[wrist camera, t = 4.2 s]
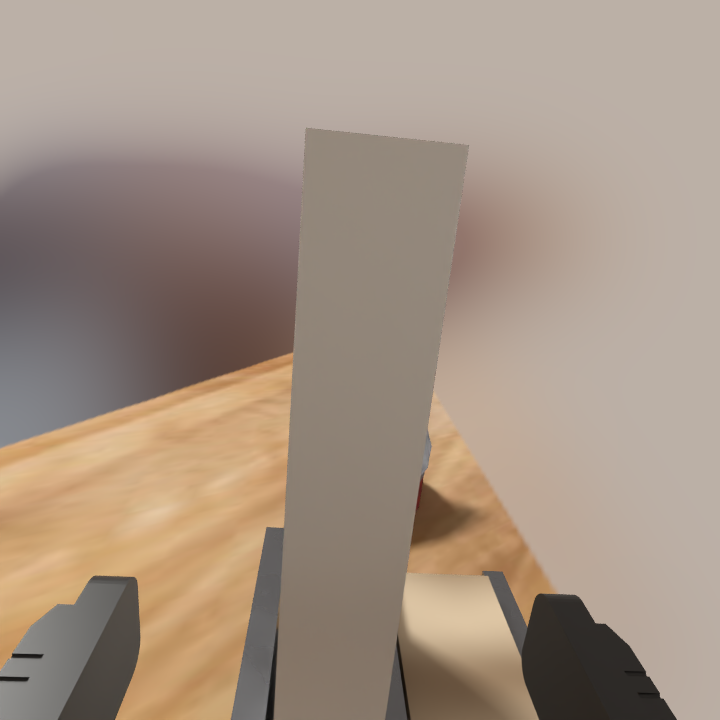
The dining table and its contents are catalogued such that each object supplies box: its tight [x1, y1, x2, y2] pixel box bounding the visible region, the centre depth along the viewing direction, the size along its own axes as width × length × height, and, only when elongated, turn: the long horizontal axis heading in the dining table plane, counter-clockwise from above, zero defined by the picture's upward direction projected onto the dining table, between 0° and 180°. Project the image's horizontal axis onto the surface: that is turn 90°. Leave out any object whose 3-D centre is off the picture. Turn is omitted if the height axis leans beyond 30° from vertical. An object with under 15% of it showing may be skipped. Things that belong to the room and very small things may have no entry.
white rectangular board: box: [274, 128, 469, 720], centre depth 16 cm, size 9×2×22 cm, turn 3°
